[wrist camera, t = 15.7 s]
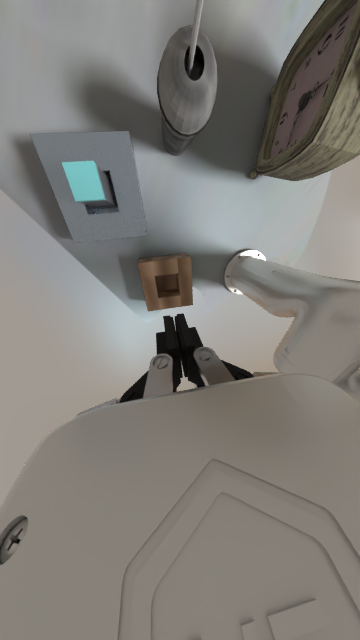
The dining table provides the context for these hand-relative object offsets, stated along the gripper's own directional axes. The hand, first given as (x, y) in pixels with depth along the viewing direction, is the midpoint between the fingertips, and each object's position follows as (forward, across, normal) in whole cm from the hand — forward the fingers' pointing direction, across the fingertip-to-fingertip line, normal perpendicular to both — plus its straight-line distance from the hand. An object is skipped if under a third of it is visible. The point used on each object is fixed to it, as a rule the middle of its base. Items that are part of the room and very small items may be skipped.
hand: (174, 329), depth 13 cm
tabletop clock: (+31, -26, -20) cm, 45 cm away
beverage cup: (+31, -6, -21) cm, 38 cm away
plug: (+30, +9, -13) cm, 34 cm away
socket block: (+31, +9, -13) cm, 35 cm away
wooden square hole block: (+31, -1, +5) cm, 32 cm away
